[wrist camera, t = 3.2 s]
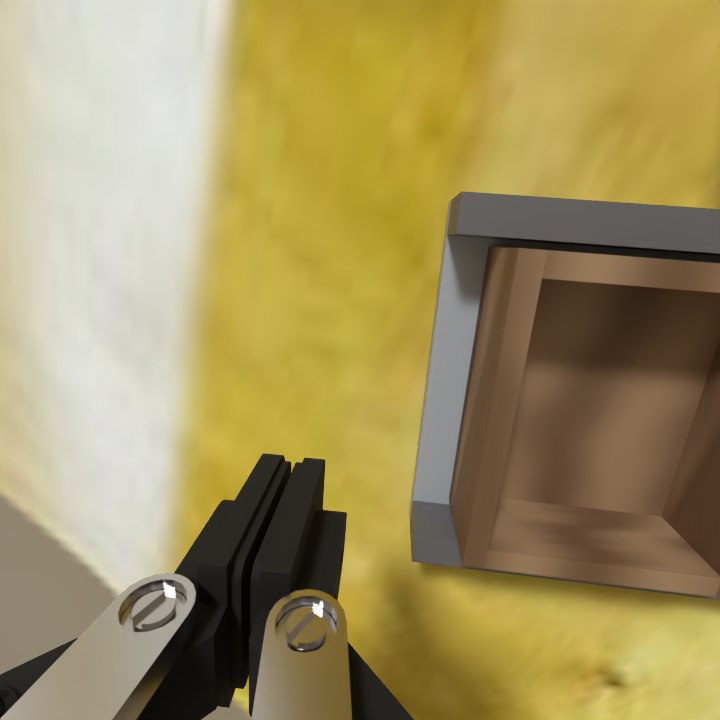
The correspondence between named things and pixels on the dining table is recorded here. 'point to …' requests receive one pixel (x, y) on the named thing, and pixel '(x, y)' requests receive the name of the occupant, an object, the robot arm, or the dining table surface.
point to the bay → (461, 304)
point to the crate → (593, 421)
